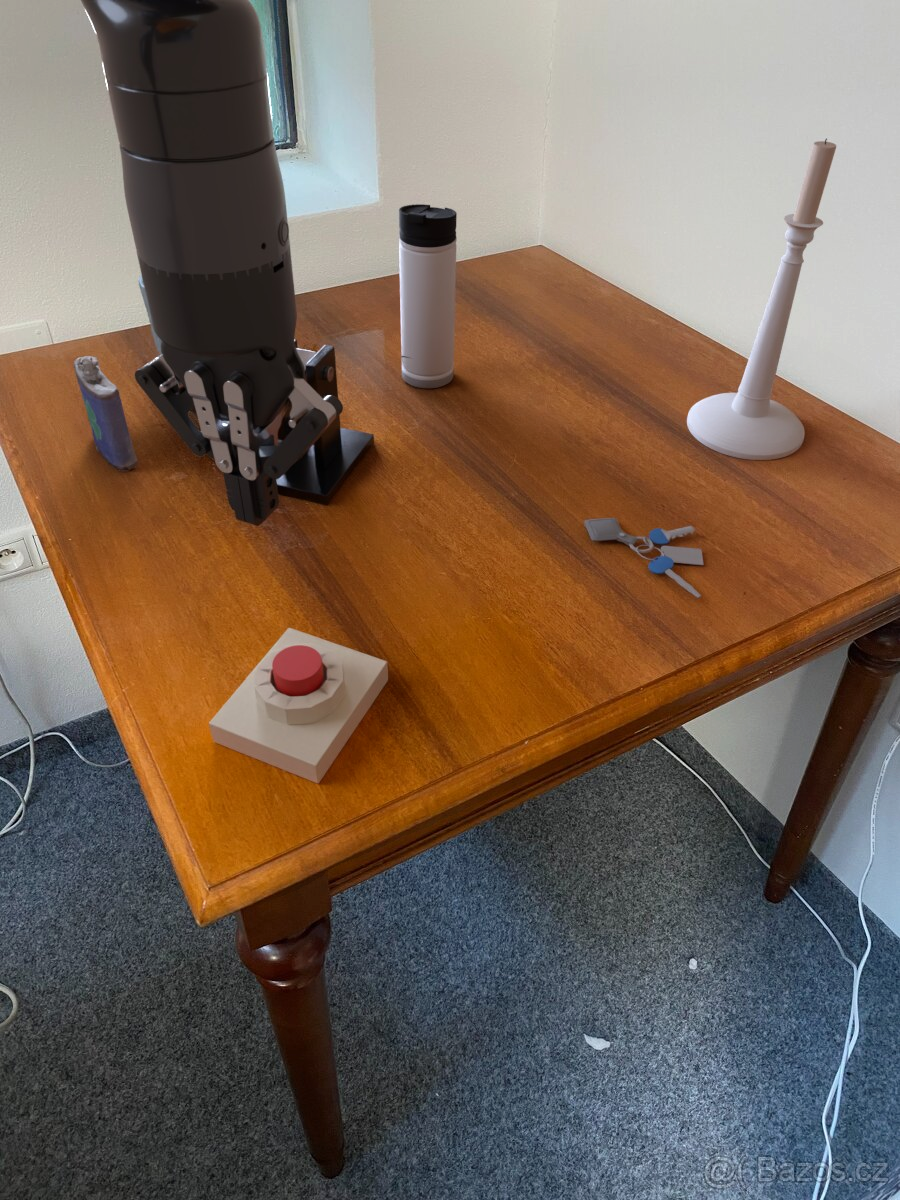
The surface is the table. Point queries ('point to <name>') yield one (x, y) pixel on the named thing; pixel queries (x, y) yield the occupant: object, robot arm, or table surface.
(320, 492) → the bracket
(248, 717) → the button box
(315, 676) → the button
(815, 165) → the candlestick
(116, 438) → the blue squeeze pouch
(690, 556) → the key chain
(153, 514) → the table surface
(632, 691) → the table surface
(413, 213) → the travel mug
